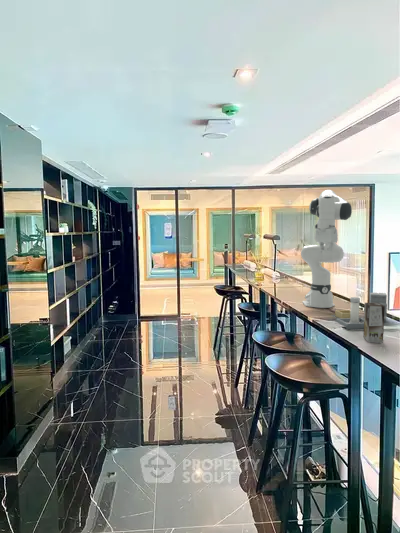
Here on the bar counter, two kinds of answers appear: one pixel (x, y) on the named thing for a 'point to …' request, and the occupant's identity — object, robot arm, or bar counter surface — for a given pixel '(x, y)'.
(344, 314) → the block
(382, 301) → the circuit breaker
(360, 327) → the parts tray
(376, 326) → the coffee box
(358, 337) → the bar counter surface
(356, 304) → the cylinder
